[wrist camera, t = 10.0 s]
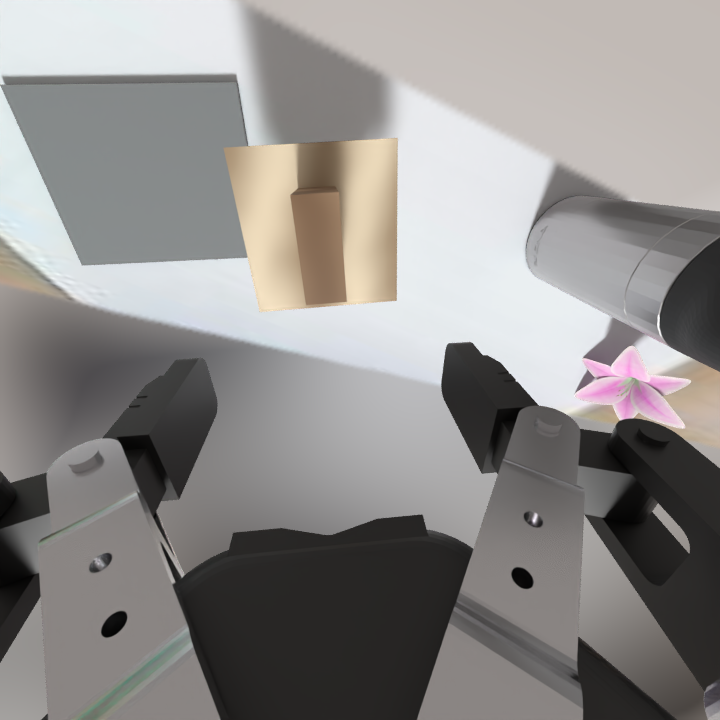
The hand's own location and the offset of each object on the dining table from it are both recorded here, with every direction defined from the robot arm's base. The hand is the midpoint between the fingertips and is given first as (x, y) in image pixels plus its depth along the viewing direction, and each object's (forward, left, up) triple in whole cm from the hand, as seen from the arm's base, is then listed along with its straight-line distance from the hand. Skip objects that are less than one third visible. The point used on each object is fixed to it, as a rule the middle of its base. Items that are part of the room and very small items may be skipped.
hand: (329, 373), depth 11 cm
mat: (+15, -5, -27) cm, 31 cm away
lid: (0, -2, -17) cm, 17 cm away
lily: (-38, +20, -27) cm, 51 cm away
